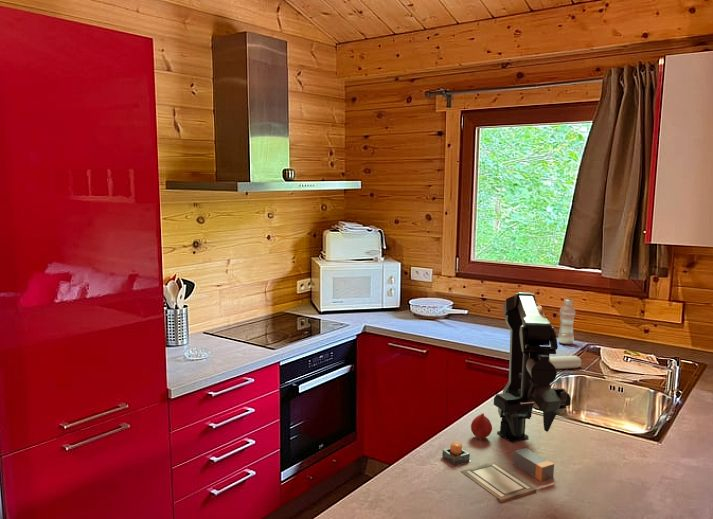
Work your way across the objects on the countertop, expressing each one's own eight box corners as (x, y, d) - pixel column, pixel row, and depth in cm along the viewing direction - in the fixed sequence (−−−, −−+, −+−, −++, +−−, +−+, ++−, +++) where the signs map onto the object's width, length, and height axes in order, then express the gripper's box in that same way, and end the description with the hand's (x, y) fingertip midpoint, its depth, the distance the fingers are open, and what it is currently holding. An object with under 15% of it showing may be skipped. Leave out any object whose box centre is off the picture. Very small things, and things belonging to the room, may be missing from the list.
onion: (466, 437, 176) (467, 410, 175) (483, 434, 178) (484, 407, 177) (477, 445, 171) (479, 418, 170) (495, 442, 173) (496, 415, 172)
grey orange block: (524, 462, 162) (525, 447, 162) (553, 479, 153) (554, 464, 153) (512, 465, 160) (513, 450, 160) (540, 483, 152) (542, 467, 151)
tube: (575, 354, 243) (517, 357, 237) (583, 354, 238) (524, 357, 232) (576, 368, 243) (518, 371, 237) (584, 368, 237) (525, 371, 231)
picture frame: (494, 464, 161) (494, 461, 160) (536, 491, 148) (536, 488, 147) (460, 473, 155) (460, 470, 155) (500, 502, 142) (500, 499, 142)
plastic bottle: (575, 346, 268) (579, 301, 265) (559, 345, 269) (563, 300, 265) (570, 341, 275) (574, 297, 272) (555, 341, 275) (558, 297, 272)
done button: (457, 449, 164) (457, 441, 163) (464, 454, 161) (464, 446, 161) (447, 452, 162) (448, 443, 162) (454, 457, 160) (455, 448, 159)
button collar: (457, 453, 166) (458, 444, 166) (471, 463, 161) (472, 454, 160) (439, 458, 163) (439, 449, 163) (453, 468, 158) (453, 458, 158)
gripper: (520, 385, 140) (516, 451, 142) (588, 379, 146) (583, 442, 148) (494, 371, 151) (490, 432, 153) (558, 365, 157) (554, 424, 159)
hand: (530, 433), depth 153 cm, fingers open, 9 cm apart
